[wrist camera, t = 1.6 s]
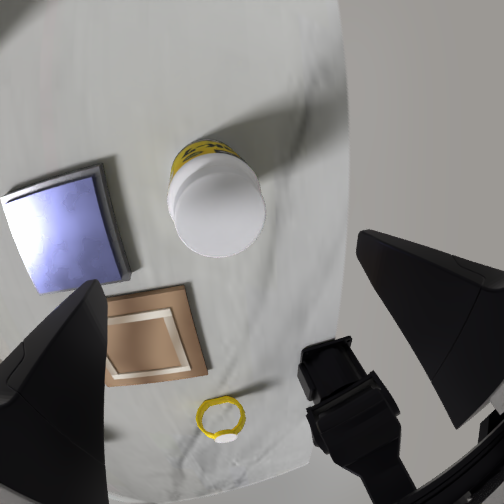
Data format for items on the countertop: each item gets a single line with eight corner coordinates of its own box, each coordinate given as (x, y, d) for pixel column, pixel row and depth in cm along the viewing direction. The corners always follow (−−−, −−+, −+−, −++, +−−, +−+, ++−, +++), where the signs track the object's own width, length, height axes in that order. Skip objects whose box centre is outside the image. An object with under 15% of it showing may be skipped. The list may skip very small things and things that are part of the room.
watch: (235, 387, 33) (249, 426, 28) (239, 397, 34) (253, 434, 29) (190, 401, 32) (199, 441, 27) (197, 410, 33) (207, 448, 28)
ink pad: (102, 163, 17) (96, 168, 16) (131, 273, 21) (129, 284, 20) (6, 193, 15) (-3, 200, 14) (42, 288, 20) (37, 299, 19)
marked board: (184, 284, 23) (184, 290, 22) (207, 370, 29) (208, 376, 29) (60, 305, 21) (57, 310, 20) (108, 382, 27) (107, 388, 27)
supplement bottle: (242, 139, 19) (284, 166, 11) (236, 203, 21) (269, 264, 14) (171, 137, 17) (164, 162, 10) (170, 203, 20) (166, 267, 13)
